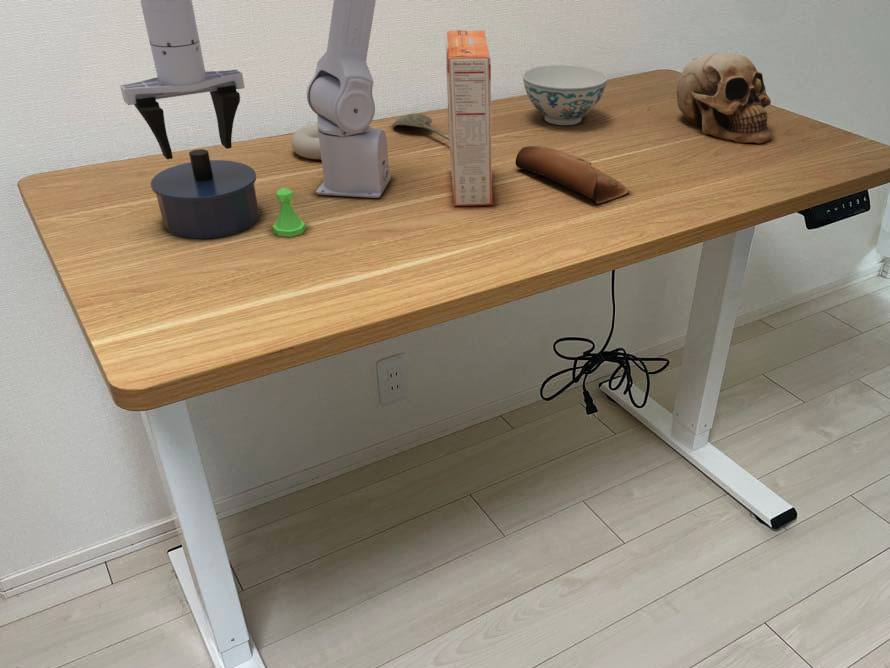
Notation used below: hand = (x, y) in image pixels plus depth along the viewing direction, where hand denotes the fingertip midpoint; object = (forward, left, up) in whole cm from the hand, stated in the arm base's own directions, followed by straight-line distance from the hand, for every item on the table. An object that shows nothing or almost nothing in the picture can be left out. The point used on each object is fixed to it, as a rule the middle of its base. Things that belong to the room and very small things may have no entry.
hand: (197, 151), depth 111 cm
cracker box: (-34, -16, -10) cm, 38 cm away
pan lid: (0, 0, -4) cm, 4 cm away
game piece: (-12, +2, -10) cm, 15 cm away
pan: (0, 0, -10) cm, 10 cm away
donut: (-8, -28, -10) cm, 31 cm away
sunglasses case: (-49, -21, -10) cm, 54 cm away
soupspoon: (-25, -36, -10) cm, 45 cm away
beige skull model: (-75, -51, -10) cm, 91 cm away
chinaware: (-46, -51, -10) cm, 69 cm away
